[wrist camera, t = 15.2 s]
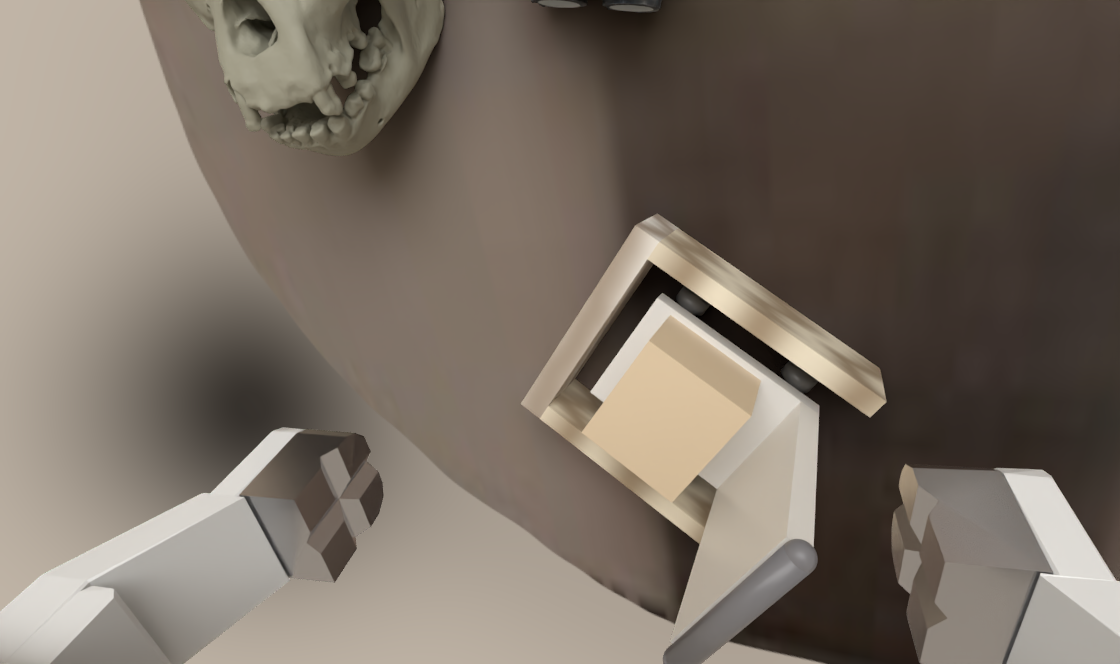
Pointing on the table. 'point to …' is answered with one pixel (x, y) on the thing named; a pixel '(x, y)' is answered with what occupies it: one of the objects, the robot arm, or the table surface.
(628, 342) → the trolley
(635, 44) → the table surface
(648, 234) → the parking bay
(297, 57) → the skull
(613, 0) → the toy excavator
